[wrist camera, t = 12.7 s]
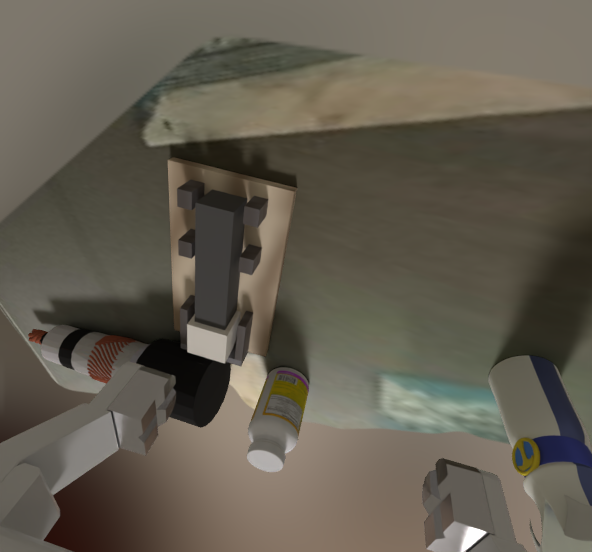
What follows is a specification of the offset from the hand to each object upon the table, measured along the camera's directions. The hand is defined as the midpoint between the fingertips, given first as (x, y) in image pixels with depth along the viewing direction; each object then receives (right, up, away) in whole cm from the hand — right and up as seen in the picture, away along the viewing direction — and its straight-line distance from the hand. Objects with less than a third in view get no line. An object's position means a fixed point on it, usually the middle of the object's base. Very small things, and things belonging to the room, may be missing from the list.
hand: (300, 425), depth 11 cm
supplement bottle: (-1, -11, +43) cm, 45 cm away
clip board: (-9, +6, +34) cm, 36 cm away
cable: (-26, -6, +47) cm, 54 cm away
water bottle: (+28, -8, +34) cm, 44 cm away
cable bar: (-9, +5, +33) cm, 35 cm away
